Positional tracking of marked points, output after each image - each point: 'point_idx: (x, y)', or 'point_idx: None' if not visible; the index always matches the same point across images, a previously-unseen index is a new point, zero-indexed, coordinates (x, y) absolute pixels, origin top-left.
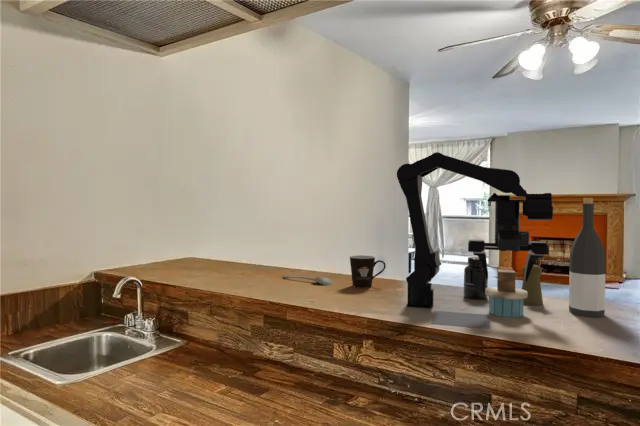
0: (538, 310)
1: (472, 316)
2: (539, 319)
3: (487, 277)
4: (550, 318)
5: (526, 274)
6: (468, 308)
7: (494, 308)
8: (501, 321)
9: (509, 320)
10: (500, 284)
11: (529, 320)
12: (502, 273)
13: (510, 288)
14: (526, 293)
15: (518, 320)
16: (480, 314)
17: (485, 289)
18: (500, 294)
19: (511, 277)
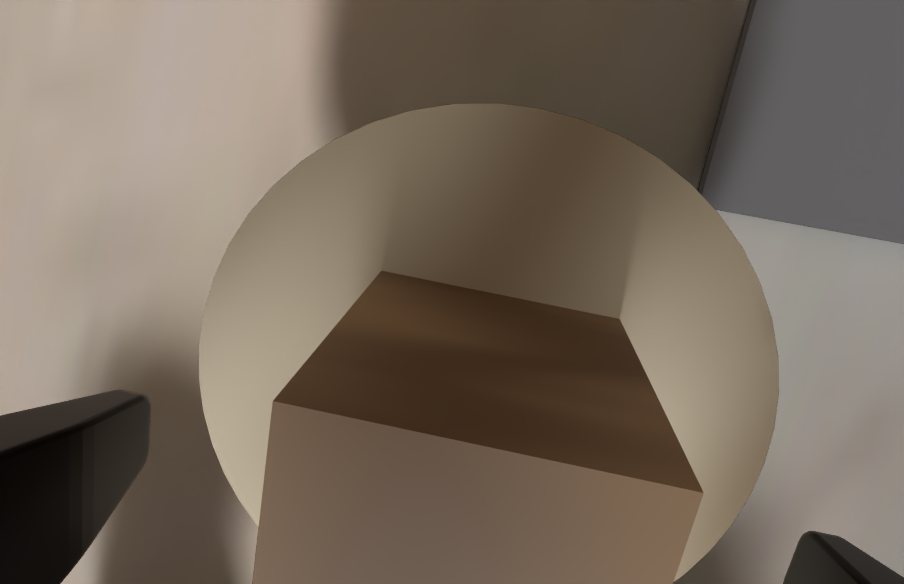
0: (164, 475)
1: (900, 104)
2: (223, 159)
3: (836, 549)
4: (120, 211)
5: (37, 429)
6: (788, 489)
7: None
8: (613, 15)
9: (518, 72)
10: (601, 349)
11: (323, 105)
12: (592, 448)
13: (440, 300)
14: (233, 237)
15: (428, 87)
16: (776, 204)
17: (770, 440)
18: (635, 148)
19: (393, 372)
